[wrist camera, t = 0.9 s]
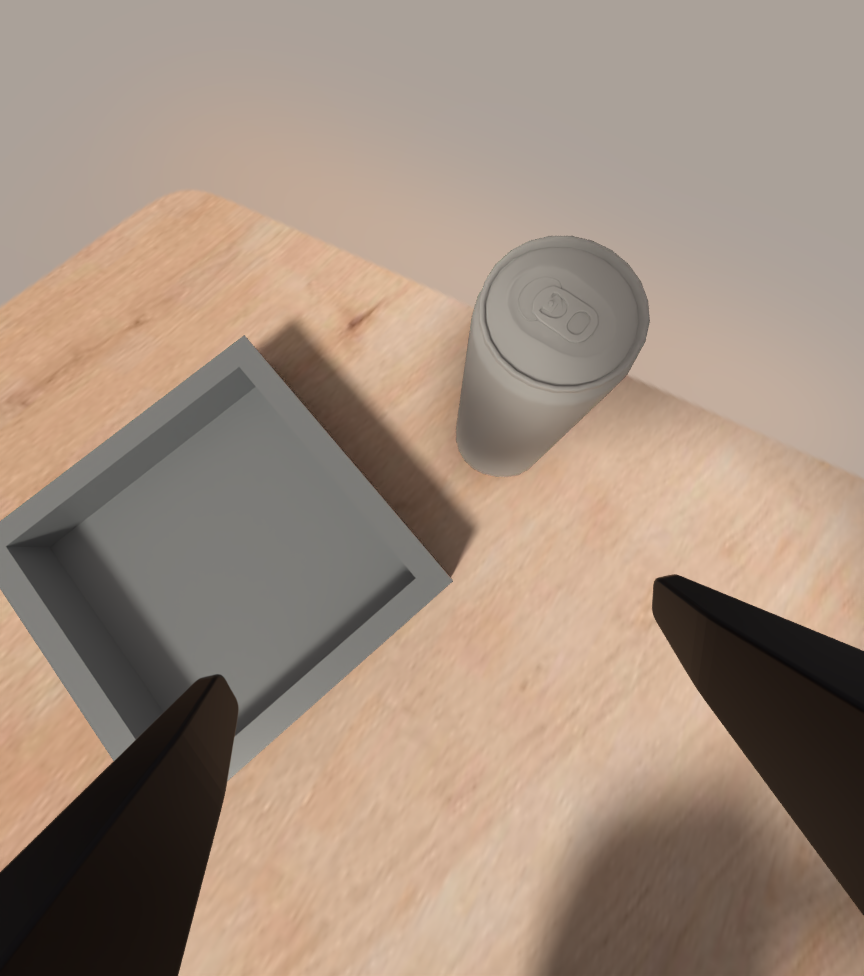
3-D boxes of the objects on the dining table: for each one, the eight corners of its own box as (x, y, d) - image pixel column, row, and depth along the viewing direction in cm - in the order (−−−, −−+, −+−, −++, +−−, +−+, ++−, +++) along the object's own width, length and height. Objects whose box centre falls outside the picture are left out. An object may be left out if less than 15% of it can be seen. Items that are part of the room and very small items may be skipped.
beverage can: (489, 380, 23) (543, 199, 11) (559, 430, 23) (690, 295, 11) (437, 445, 23) (437, 325, 11) (507, 498, 22) (587, 433, 10)
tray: (451, 577, 22) (453, 581, 19) (204, 795, 20) (163, 837, 17) (268, 362, 24) (244, 335, 21) (33, 545, 22) (-30, 543, 19)
